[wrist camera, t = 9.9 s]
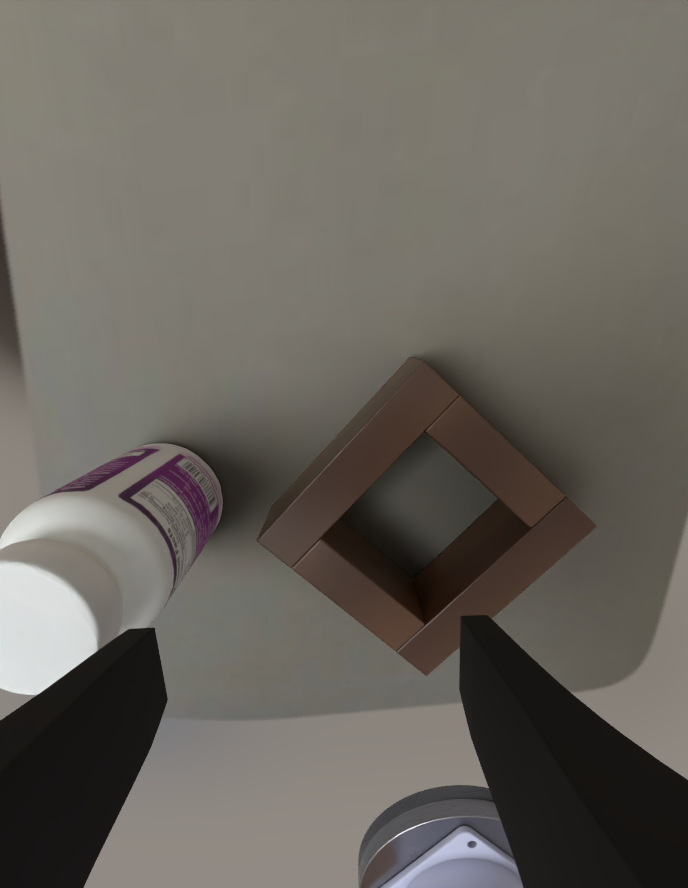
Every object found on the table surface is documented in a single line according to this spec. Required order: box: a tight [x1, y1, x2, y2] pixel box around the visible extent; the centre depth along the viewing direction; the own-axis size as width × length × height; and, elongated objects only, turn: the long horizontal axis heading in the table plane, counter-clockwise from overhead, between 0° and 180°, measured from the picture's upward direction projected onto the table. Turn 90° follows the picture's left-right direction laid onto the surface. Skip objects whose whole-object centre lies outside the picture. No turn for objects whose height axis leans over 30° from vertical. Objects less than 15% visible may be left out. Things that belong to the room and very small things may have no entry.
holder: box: [257, 357, 596, 676], centre depth 18 cm, size 9×9×4 cm
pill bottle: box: [0, 443, 223, 695], centre depth 16 cm, size 5×5×10 cm
